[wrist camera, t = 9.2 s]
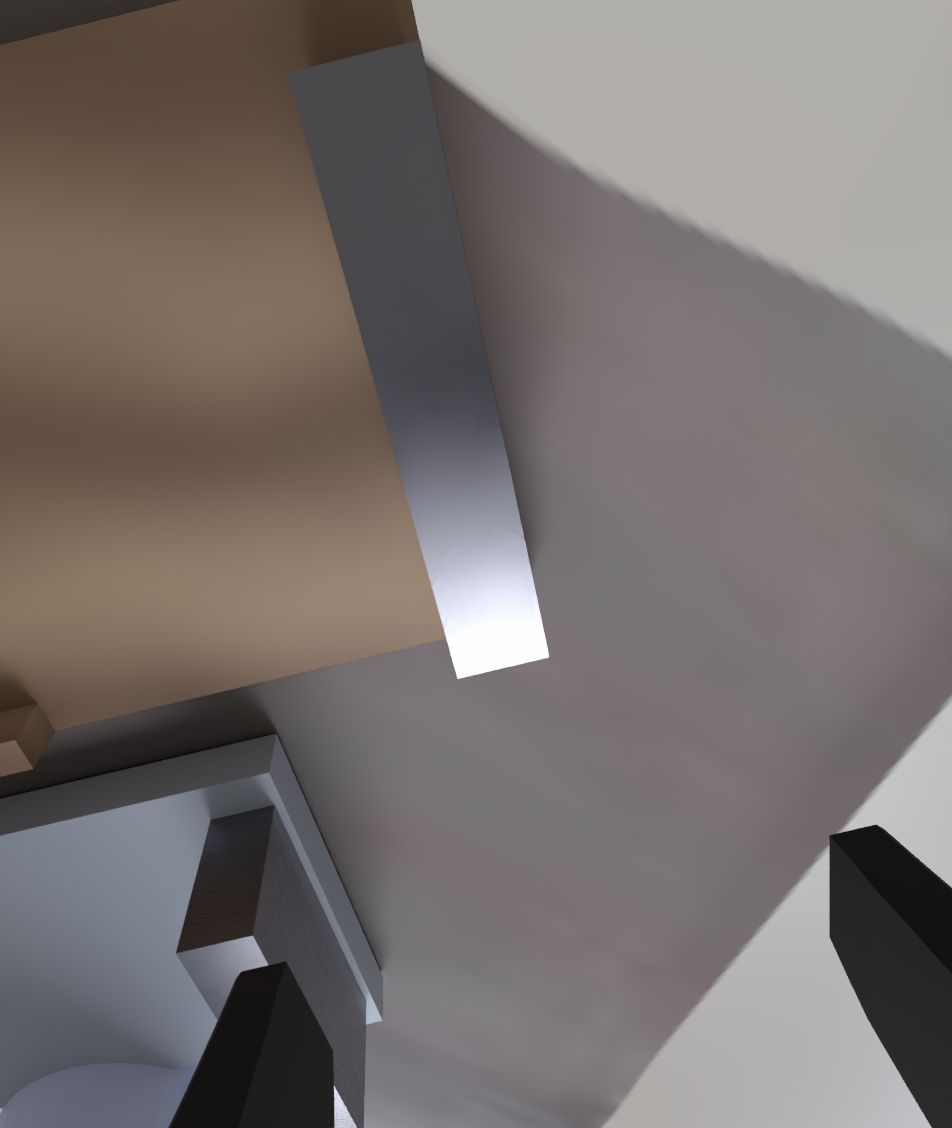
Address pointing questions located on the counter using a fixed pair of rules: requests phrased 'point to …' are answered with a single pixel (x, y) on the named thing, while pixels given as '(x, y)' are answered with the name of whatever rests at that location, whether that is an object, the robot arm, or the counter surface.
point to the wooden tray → (237, 367)
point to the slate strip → (172, 917)
